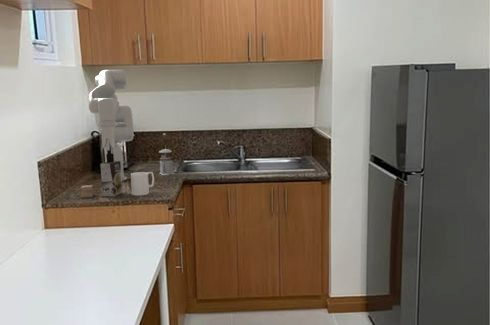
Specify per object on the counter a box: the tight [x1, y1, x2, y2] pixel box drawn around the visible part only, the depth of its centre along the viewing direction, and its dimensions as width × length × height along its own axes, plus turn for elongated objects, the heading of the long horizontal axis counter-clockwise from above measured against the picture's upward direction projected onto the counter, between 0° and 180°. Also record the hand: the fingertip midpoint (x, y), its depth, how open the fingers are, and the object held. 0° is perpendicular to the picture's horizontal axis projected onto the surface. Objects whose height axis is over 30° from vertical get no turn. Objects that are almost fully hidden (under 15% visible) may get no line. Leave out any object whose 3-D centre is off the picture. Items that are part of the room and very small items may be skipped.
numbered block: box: [80, 184, 95, 199], centre depth 228 cm, size 5×5×5 cm
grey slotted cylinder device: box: [158, 132, 176, 176], centre depth 286 cm, size 10×12×25 cm
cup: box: [130, 171, 155, 196], centre depth 231 cm, size 8×12×10 cm
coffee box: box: [100, 161, 123, 197], centre depth 229 cm, size 9×6×16 cm
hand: (110, 162), depth 228 cm, fingers closed
